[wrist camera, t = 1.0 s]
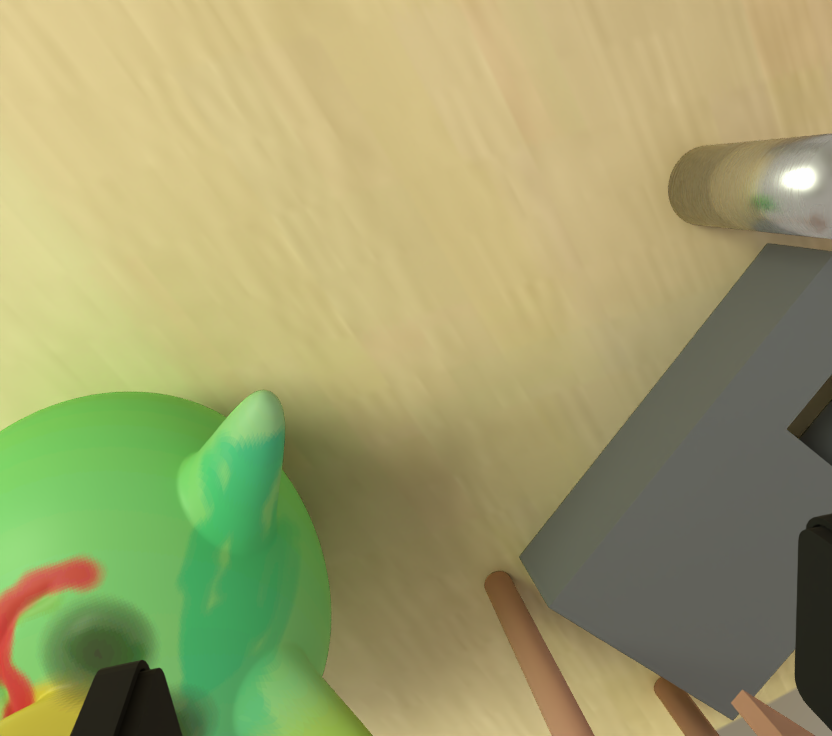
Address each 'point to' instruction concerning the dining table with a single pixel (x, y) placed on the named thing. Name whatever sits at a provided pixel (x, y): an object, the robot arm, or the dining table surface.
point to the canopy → (560, 703)
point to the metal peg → (757, 186)
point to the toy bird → (162, 567)
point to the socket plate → (707, 494)
